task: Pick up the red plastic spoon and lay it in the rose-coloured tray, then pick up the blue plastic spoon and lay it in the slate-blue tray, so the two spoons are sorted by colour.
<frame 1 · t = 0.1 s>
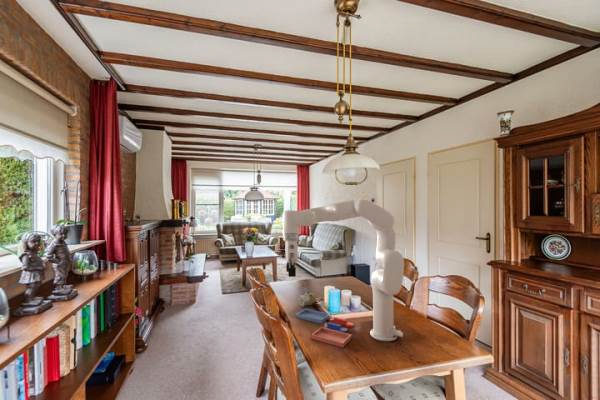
hand: (290, 273, 130), 31 cm above the table, tool pointing down, fingers open, 9 cm apart
red spoon: (342, 324, 149), on the table
blue tray: (313, 317, 159), on the table
blue spoon: (336, 329, 142), on the table
ceramic sculpture: (309, 305, 179), on the table
rose tray: (331, 338, 133), on the table
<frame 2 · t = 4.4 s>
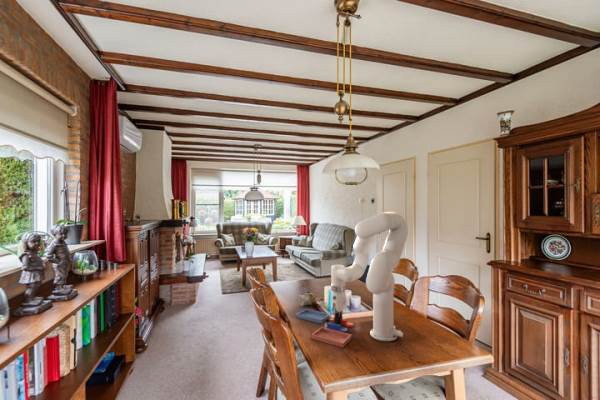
hand: (338, 322, 150), 0 cm above the table, tool pointing down, fingers closed on red spoon
red spoon: (342, 324, 149), on the table, touching gripper
everything else where it was.
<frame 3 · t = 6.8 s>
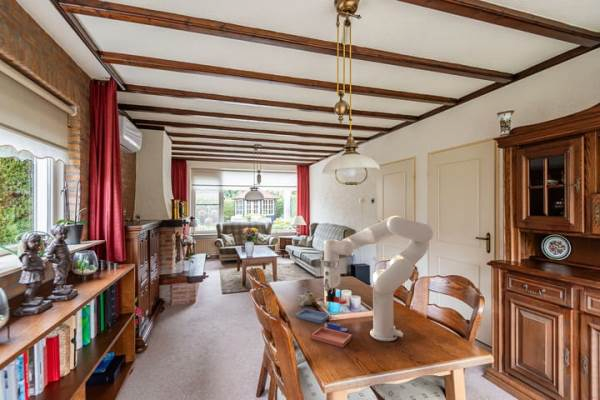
hand: (331, 300, 141), 15 cm above the table, tool pointing down, fingers closed on red spoon
red spoon: (335, 302, 140), point 15 cm above the table, touching gripper
everything else where it was.
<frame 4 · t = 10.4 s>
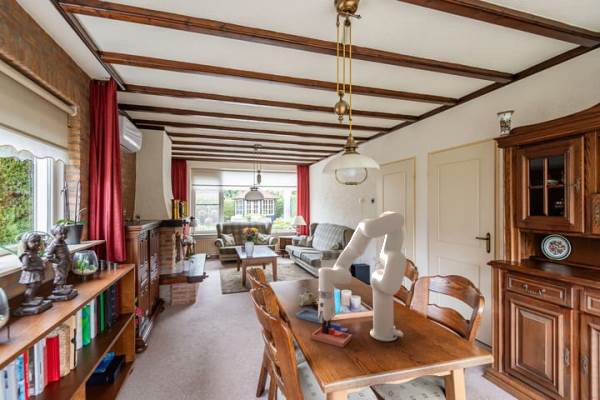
hand: (326, 332, 134), 2 cm above the table, tool pointing down, fingers closed on red spoon
red spoon: (330, 334, 133), point 2 cm above the table, touching gripper
everything else where it was.
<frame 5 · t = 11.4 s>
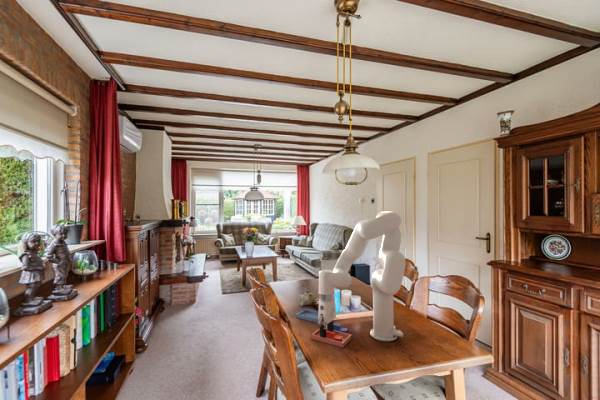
hand: (326, 333, 134), 2 cm above the table, tool pointing down, fingers open, 7 cm apart
red spoon: (330, 337, 133), resting on rose tray
everything else where it was.
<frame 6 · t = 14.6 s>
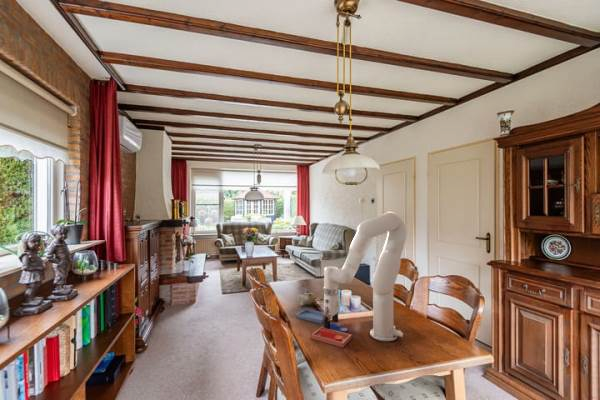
hand: (331, 325, 144), 2 cm above the table, tool pointing down, fingers open, 9 cm apart
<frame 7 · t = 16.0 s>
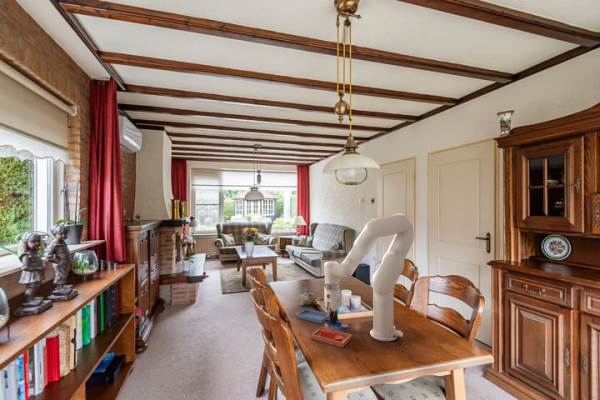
hand: (333, 322, 143), 3 cm above the table, tool pointing down, fingers closed on blue spoon
blue spoon: (337, 326, 142), point 2 cm above the table, touching gripper
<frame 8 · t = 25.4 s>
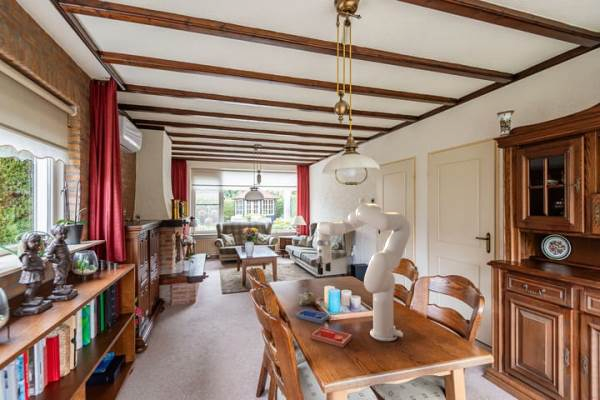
hand: (324, 272, 162), 24 cm above the table, tool pointing down, fingers open, 9 cm apart
blue spoon: (311, 316, 159), resting on blue tray
at the end: red spoon inside the target area in the rose tray (0.4 cm from its centre), point 0.4 cm above the rose tray's base; blue spoon inside the target area in the blue tray (0.9 cm from its centre), point 0.4 cm above the blue tray's base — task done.
